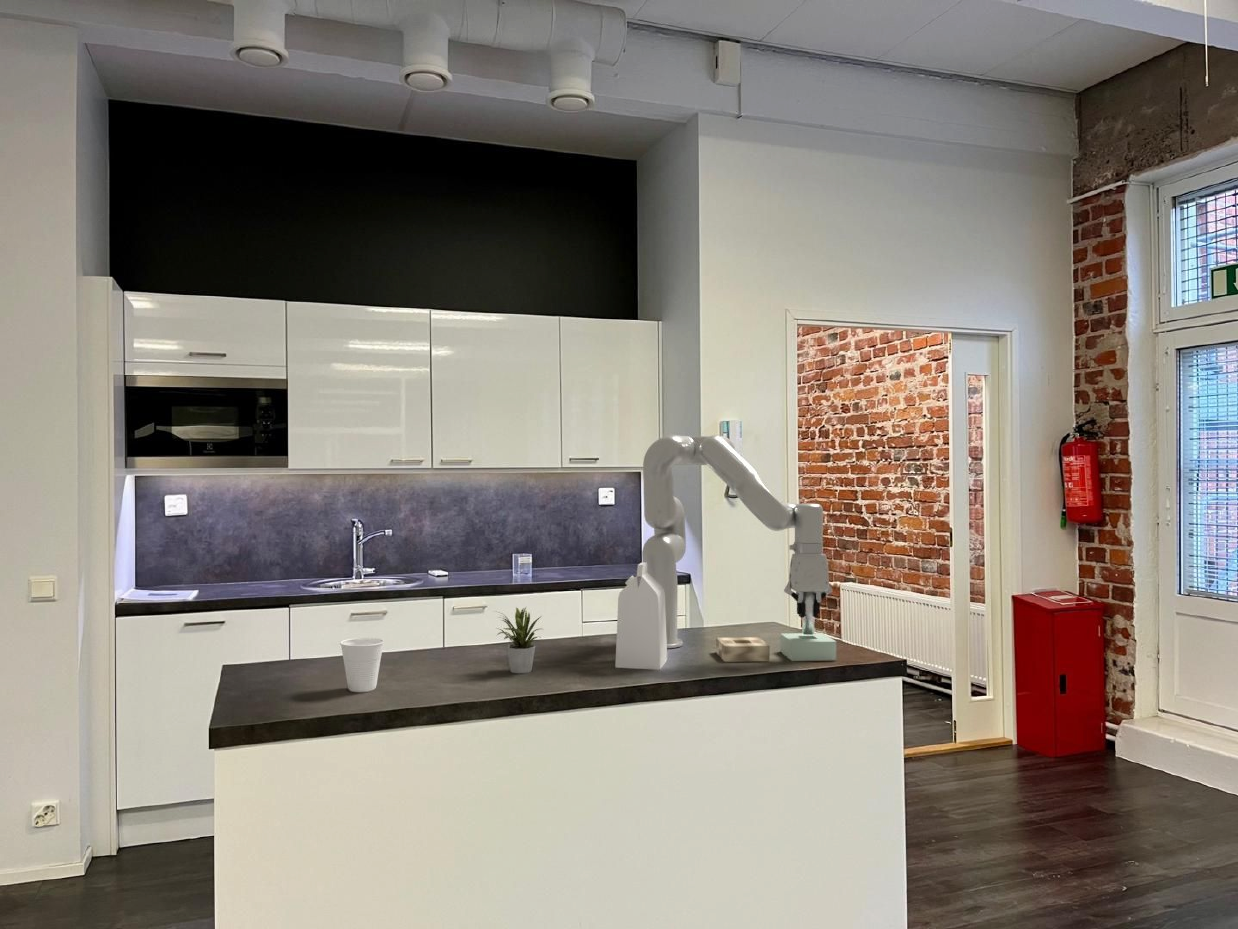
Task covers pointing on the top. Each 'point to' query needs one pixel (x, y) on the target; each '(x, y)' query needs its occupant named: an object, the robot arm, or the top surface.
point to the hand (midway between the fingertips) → (808, 616)
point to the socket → (807, 647)
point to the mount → (742, 649)
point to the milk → (641, 623)
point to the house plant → (520, 643)
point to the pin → (808, 613)
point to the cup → (362, 662)
